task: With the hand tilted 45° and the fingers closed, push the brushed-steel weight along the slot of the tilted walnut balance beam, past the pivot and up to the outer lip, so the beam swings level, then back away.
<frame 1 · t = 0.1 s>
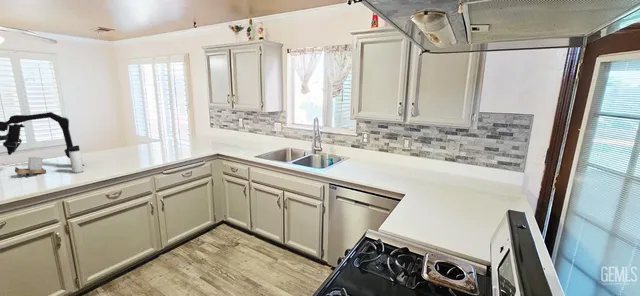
hand: (11, 153, 201), 15 cm above the worktop, tool pointing down, fingers open, 9 cm apart
steel weight: (34, 170, 204), point 3 cm above the worktop, tilted 12°, touching walnut beam
pivot stand: (29, 175, 202), on the worktop
walnut beam: (30, 170, 202), point 3 cm above the worktop, hinge at -11.7°, touching steel weight
travel mug: (78, 172, 210), on the worktop
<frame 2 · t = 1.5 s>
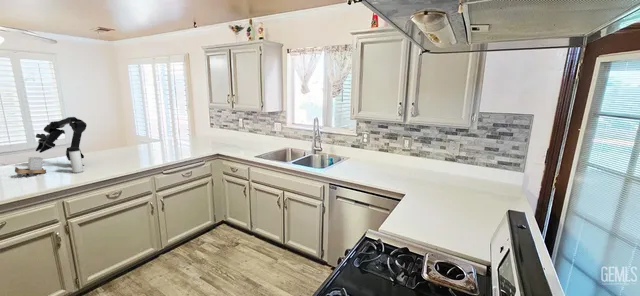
hand: (37, 151, 216), 14 cm above the worktop, tool tilted 45°, fingers open, 9 cm apart
nothing on the worktop moved.
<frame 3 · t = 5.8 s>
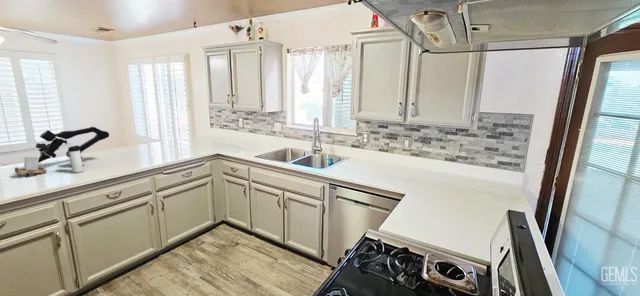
hand: (37, 162, 205), 8 cm above the worktop, tool tilted 45°, fingers closed, pressing on steel weight
steel weight: (31, 170, 202), point 4 cm above the worktop, tilted 11°, touching gripper, walnut beam
walnut beam: (30, 170, 202), point 3 cm above the worktop, hinge at -11.0°, touching steel weight
everything else where it was.
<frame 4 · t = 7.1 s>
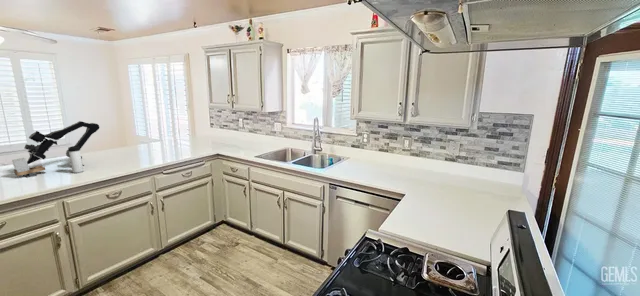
hand: (27, 163, 200), 9 cm above the worktop, tool tilted 45°, fingers closed, pressing on steel weight
steel weight: (22, 171, 199), point 4 cm above the worktop, touching gripper, walnut beam
walnut beam: (30, 170, 202), point 4 cm above the worktop, hinge at 3.5°, touching steel weight
everything else where it was.
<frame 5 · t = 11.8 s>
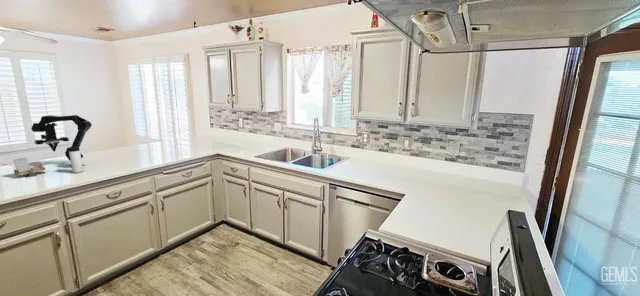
hand: (54, 151, 220), 13 cm above the worktop, tool pointing down, fingers closed
steel weight: (23, 171, 199), point 4 cm above the worktop, touching walnut beam
everything else where it was.
at the end: walnut beam at +3° (first picture: -12°); steel weight 0.1 cm from the target spot on the walnut beam, point 1.6 cm above the walnut beam's base; steel weight tilted 3° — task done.
